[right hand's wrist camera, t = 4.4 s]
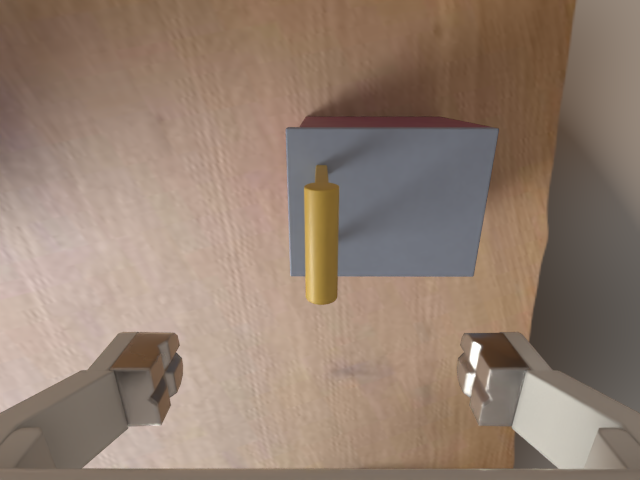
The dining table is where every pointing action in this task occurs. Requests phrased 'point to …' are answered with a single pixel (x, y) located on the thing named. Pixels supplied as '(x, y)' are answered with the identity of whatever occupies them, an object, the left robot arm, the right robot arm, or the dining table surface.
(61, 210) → the dining table surface
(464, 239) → the lid
